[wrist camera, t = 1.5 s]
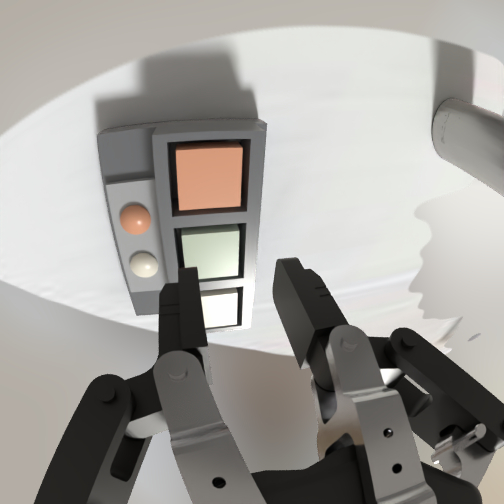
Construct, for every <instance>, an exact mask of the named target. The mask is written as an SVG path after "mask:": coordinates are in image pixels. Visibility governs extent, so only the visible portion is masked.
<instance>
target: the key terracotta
mask: <svg viewBox="0 0 504 504" xmlns="http://www.w3.org/2000/svg"><path fill="white" fill-rule="evenodd" d="M242 153H243V147H242V146H241V145H240V144H239V142H238V141H232V142H202V143H185V144H177V145H176V165H177V183H178V198H179V210H192V209H205V208H220V207H236V206H240V201H241V176H242Z"/></svg>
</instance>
